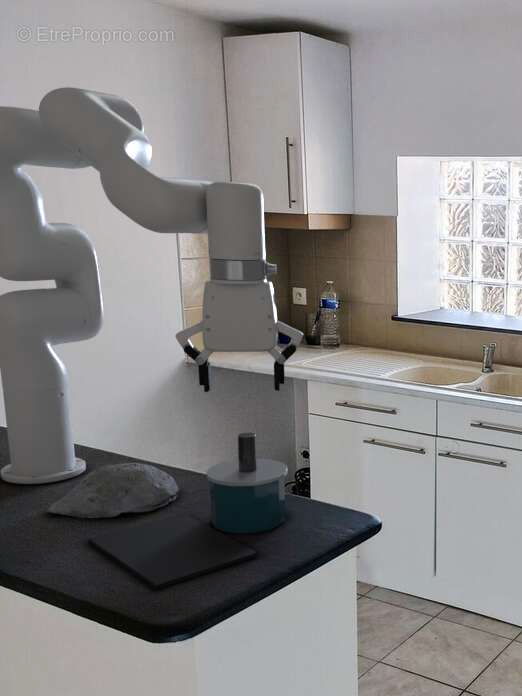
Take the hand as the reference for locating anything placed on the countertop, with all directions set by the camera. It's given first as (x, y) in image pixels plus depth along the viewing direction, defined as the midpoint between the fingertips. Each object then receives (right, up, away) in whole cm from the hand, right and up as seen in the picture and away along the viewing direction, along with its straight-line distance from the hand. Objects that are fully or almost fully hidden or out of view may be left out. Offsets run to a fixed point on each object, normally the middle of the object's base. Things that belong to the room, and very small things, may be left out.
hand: (243, 389), depth 117 cm
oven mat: (-8, -22, -6) cm, 24 cm away
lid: (-1, -13, +4) cm, 13 cm away
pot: (-1, -20, +5) cm, 21 cm away
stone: (-23, -18, +11) cm, 31 cm away
